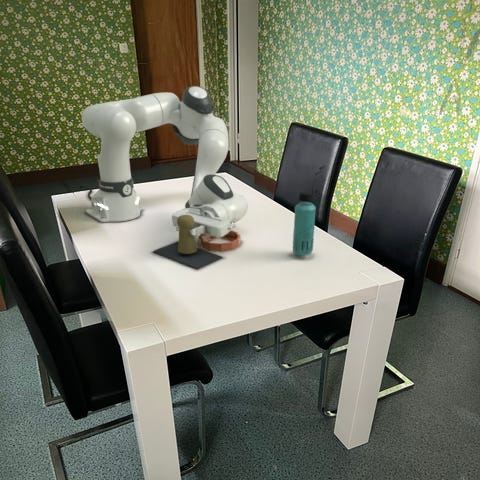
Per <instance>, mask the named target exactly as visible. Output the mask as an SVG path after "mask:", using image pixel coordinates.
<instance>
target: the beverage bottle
mask: <svg viewBox="0 0 480 480" xmlns="http://www.w3.org/2000/svg"><path fill="white" fill-rule="evenodd" d="M313 200H314V193H313V191H309V190H308V191H307V190H304V191H300V192H299V196H298V201H300V202H298V203H297V204H296V205H295V206H294V221H293V222H294V223H293V234H292V252H293V254H295V255H299V256H308V255H311V254H312V253H313V251H314V241H315V237H314V236H315V226H316V209H317V208H316V206H315V205H314V203H312V202H313Z"/></svg>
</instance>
